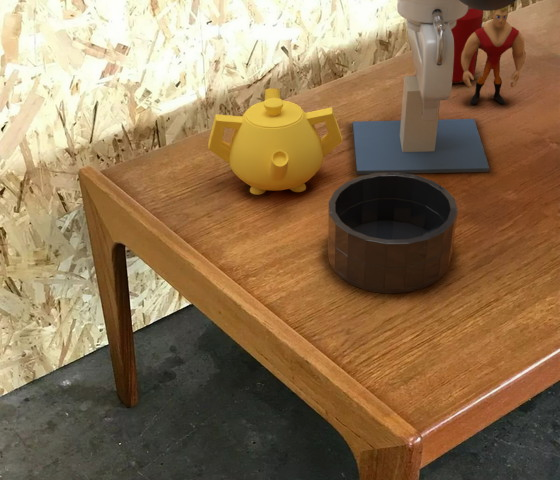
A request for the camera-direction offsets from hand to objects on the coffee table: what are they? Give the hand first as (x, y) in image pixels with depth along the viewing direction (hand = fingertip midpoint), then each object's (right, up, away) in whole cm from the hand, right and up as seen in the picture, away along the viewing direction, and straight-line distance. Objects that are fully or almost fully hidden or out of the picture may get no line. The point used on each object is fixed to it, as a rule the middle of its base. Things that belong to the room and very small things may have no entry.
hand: (424, 101), depth 109 cm
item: (0, -4, +5) cm, 6 cm away
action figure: (+12, +5, +14) cm, 19 cm away
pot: (-7, -23, -13) cm, 27 cm away
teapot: (-20, -10, +1) cm, 23 cm away
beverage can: (+8, +11, +21) cm, 25 cm away
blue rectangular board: (0, -5, +5) cm, 7 cm away
